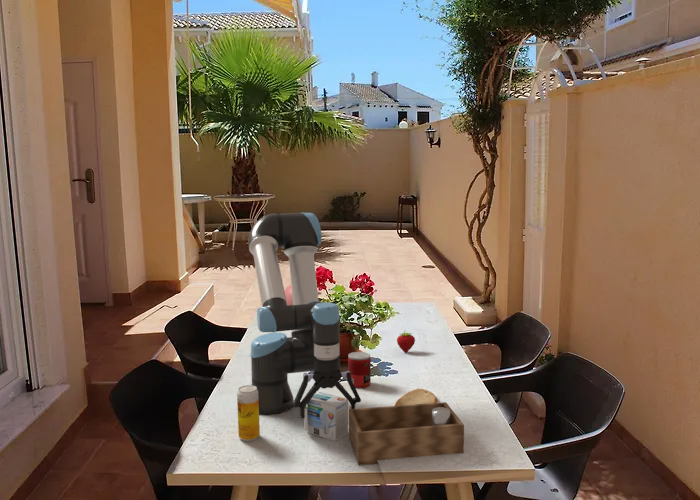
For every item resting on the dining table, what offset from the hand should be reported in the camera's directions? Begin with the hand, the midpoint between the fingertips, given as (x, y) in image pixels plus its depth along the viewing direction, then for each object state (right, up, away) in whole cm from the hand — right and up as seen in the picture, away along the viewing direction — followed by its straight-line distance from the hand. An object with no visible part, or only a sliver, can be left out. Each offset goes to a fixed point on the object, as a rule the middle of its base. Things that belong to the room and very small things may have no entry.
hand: (327, 426), depth 189 cm
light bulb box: (0, -2, 0) cm, 2 cm away
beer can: (-23, -3, -2) cm, 23 cm away
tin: (+32, -2, -8) cm, 33 cm away
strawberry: (+29, +10, +74) cm, 80 cm away
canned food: (+10, +4, +39) cm, 40 cm away
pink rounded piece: (-18, +20, +142) cm, 144 cm away
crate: (+22, -3, -9) cm, 24 cm away
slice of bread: (+28, +1, +20) cm, 34 cm away
